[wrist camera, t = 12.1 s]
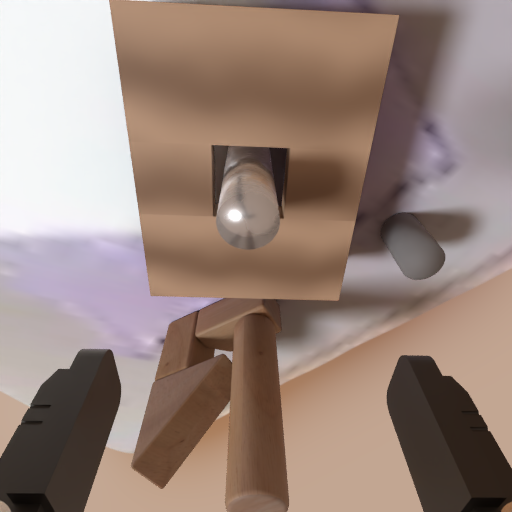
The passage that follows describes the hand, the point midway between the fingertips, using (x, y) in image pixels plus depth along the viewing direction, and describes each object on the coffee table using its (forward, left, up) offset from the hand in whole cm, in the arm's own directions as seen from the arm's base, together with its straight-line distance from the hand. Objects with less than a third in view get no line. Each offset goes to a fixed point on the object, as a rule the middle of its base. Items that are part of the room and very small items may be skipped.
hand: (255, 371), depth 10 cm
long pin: (0, 0, -20) cm, 20 cm away
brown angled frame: (+16, -2, -21) cm, 26 cm away
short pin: (+6, +13, -20) cm, 25 cm away
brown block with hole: (0, 0, -20) cm, 20 cm away
